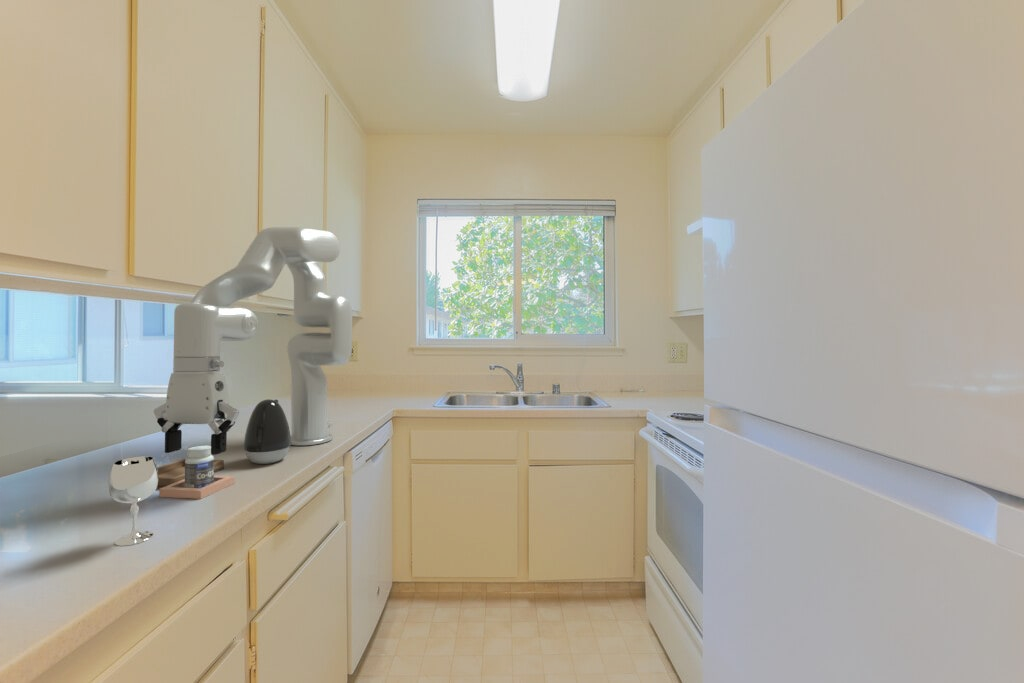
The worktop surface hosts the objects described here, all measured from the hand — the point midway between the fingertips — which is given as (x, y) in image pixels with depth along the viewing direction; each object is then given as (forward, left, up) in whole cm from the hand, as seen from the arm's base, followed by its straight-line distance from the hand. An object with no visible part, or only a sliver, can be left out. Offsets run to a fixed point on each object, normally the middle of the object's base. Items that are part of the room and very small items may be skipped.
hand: (195, 452), depth 86 cm
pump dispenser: (-21, +1, -8) cm, 22 cm away
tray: (-7, -10, -8) cm, 15 cm away
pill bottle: (-1, 0, -8) cm, 8 cm away
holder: (-1, 0, -8) cm, 8 cm away
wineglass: (+19, +7, -8) cm, 22 cm away
